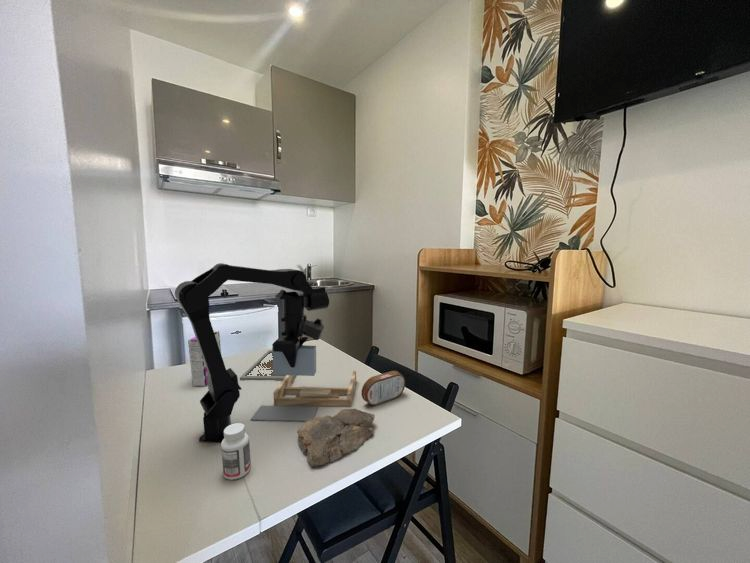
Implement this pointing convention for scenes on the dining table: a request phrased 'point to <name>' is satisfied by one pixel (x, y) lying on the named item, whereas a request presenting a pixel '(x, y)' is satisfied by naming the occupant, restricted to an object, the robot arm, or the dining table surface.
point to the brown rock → (334, 435)
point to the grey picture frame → (268, 365)
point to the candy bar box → (199, 362)
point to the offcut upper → (315, 393)
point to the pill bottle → (235, 451)
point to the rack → (286, 389)
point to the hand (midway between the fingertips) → (294, 364)
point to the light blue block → (303, 362)
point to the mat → (285, 413)
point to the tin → (383, 387)
